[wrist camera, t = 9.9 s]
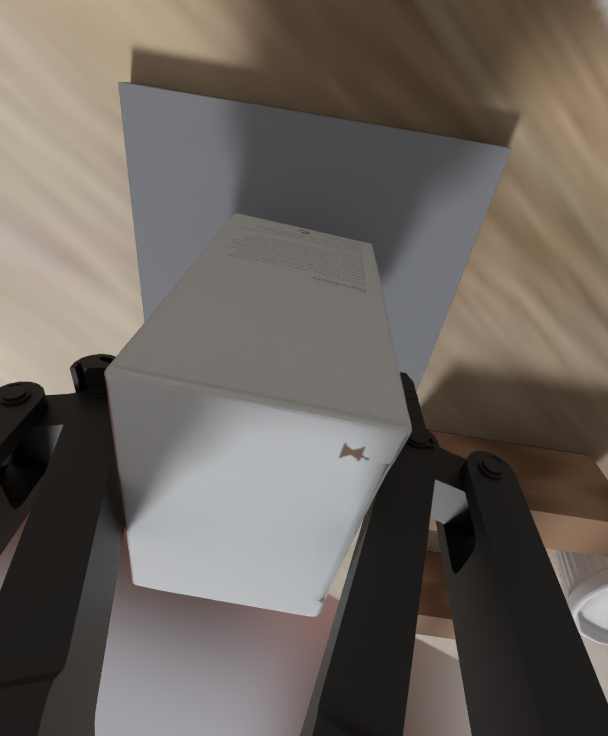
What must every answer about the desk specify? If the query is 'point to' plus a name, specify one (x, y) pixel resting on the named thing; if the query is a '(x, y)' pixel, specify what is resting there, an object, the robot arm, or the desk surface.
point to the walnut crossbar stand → (546, 503)
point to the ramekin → (586, 592)
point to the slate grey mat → (308, 195)
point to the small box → (257, 417)
